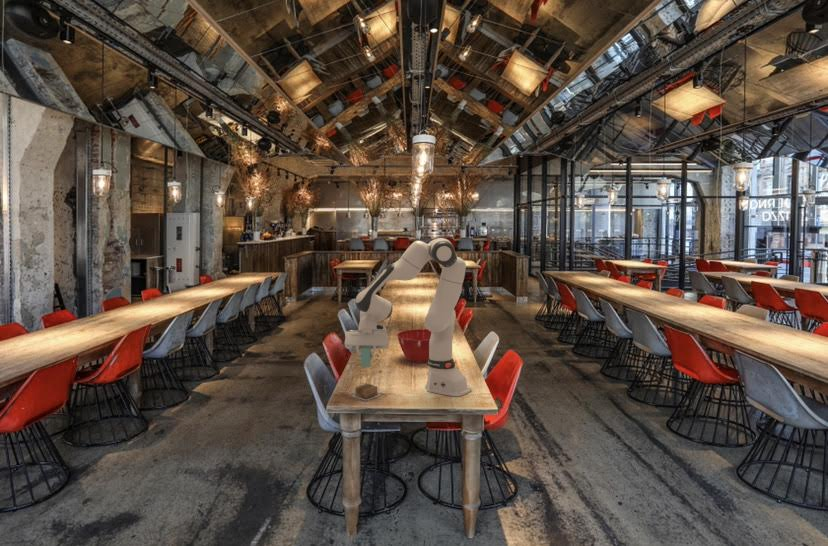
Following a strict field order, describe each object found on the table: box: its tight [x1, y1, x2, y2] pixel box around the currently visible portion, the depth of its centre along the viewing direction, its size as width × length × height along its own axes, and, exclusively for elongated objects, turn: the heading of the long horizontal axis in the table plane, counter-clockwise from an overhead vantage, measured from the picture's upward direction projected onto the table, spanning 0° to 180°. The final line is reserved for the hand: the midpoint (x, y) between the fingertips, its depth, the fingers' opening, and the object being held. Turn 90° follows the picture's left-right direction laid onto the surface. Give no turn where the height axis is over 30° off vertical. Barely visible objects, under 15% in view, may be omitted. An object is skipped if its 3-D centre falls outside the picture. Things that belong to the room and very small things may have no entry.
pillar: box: [360, 347, 372, 368], centre depth 226 cm, size 4×4×8 cm
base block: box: [354, 383, 378, 399], centre depth 228 cm, size 7×7×4 cm
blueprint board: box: [348, 392, 385, 403], centre depth 228 cm, size 12×12×1 cm
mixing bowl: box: [396, 328, 431, 364], centre depth 287 cm, size 28×28×15 cm
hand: (365, 356), depth 225 cm, fingers closed on pillar, 4 cm apart
